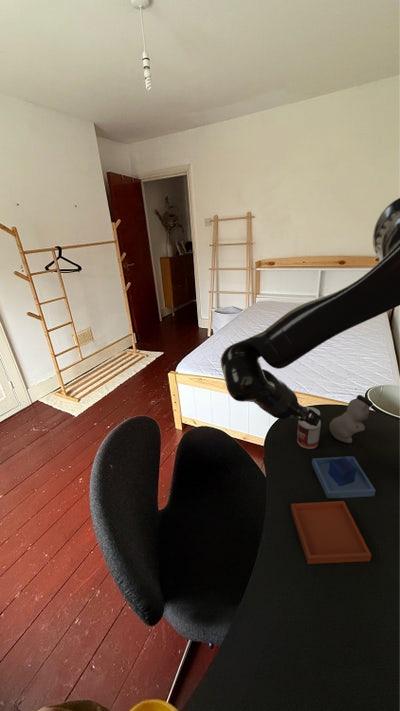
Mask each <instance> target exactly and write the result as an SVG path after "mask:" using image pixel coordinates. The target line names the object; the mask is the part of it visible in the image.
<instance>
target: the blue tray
mask: <svg viewBox="0 0 400 711" xmlns="http://www.w3.org/2000/svg"><path fill="white" fill-rule="evenodd" d="M342 457H343V456H333V457H332V456H331V457H316V458H315V457H314V458H312V459H311V466H312V469H313V470H314V472H315V474H316V476H317V478H318V481H319V483H320V486H321V488H322V490H323V492H324V494H325V497H326V498H327V499H330V500H331V499H348V498H349V499H350V498H367V497H375V495H376V489H375V487H374V486H373V484H372V482H371V481H370V480H369V478H368V476H367V475H366V472H364V470H363V468H362V467H361V465H360V464H359V462H358V461H357V459H356V458H355V456H353V455H352V456H349V455H348V456H344V457H345V458H346V459H347V460H348V461H349V462H350V463H351V464H352V465H353V466H354V467H355V468H356V469H357V471H356V476H355V481H354V482H352V483H349V484H346V485H342V486H339V485H338V484H337V483H336V482H335V481H334V479H333V478H332V477H331V476H330V475H329V474H328V472H329V465H330V461H332V460H336V459H339V458H342Z"/></svg>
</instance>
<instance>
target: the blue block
mask: <svg viewBox="0 0 400 711" xmlns="http://www.w3.org/2000/svg"><path fill="white" fill-rule="evenodd" d="M341 457H342V458H339V459H336V460H332V461H330V465H329V472H328V474H329V475H330V476H331V477H332V478H333V479H334V481H335V482H336V483H337V484H338V485H339V486H342V485H346V484H349V483H352V482H354V481H355V476H356V471H357V469H356V468H355V467H354V466H353V465H352V464H351V463H350V462H349V461H348V460H347V459H346V458H345V457H346V456H341Z"/></svg>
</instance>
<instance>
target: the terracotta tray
mask: <svg viewBox="0 0 400 711" xmlns="http://www.w3.org/2000/svg"><path fill="white" fill-rule="evenodd" d="M290 511H291V514H292V517H293V522H294V525H295V527H296V531H297V534H298V538H299V540H300V543H301V547H302V550H303V552H304V556H305V560H306V563H307V565H319V564H336V563H337V564H338V563H339V564H340V563H357V562H358V563H359V562H370V561H371V557H372V552H370V550H369V547H368V546H367V543H366V541H365V539H364V537H363V536H362V534H361V531H360V529H359V528H358V526H357V524H356V522H355V519H354V518H353V516H352V514H351V512H350V510H349V508H348V505H347V504H346V502H345V500H337V501H318V502H317V501H316V502H297V503H291V504H290Z"/></svg>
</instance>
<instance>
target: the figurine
mask: <svg viewBox="0 0 400 711" xmlns="http://www.w3.org/2000/svg"><path fill="white" fill-rule="evenodd" d="M373 405H374V403H373V402H372V401H371V400H370V399H369V398H367V397H366V396H363V395H361V394H358V395H356V398H353V399H351V400H349V402H348V404H347V409H346V411H345V412H344V413H342V414H341V415H338V416H335V417H334V418H333V419H332V420H331V421H330V423H329V428H328V429H329V431H330V433H331V435H332V436H333V437H334V438H335V439H336V440H337V441H340V442H341V443H342V442H343V443H347V444H351V443H353V438H352V436H354V434H356V433H360V432H363V431H365V430H366V426H365V425H364V423H363V421H365V420H367V419H368V418H369V415H370V414H369V413H370V410H371V407H372V406H373Z"/></svg>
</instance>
